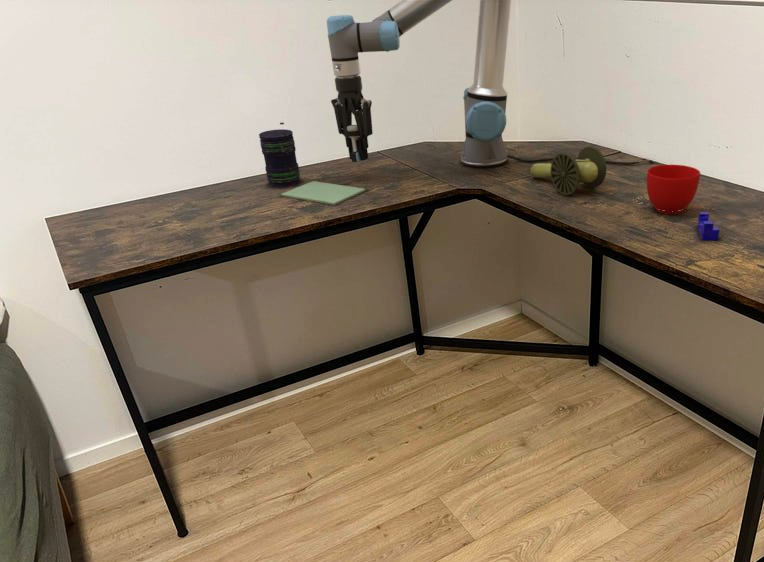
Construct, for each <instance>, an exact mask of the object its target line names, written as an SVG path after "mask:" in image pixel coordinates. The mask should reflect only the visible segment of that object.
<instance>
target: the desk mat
mask: <svg viewBox="0 0 764 562" xmlns="http://www.w3.org/2000/svg"><path fill="white" fill-rule="evenodd" d="M364 192H366V188H362V187H355V186H349V185H344V184H343V185H341V184H337V183H330V182H323V181H315V180H313V181H310V182H307V183H305V184H301V185H300V186H298V187H297V186H296V187H295V188H293V189H290V190H287V191H285V192H282V193H280V196H281V197H284V198H291V199H297V200H303V201H308V202H314V203H321V204H326V205H331V206H336V205H338V204H340V203H342V202H345V201H347V200H349V199H352V198H353V197H355V196H357V195H360V194H362V193H364Z"/></svg>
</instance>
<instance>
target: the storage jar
mask: <svg viewBox="0 0 764 562" xmlns="http://www.w3.org/2000/svg"><path fill="white" fill-rule="evenodd" d="M279 125H285V122H279ZM258 137H259V142H260V148H261V153H262V155H263V158H264V164H265V168H264V169H265V172H266V173H265V175H266V178H267V181H268V186H269V187H270V188H273V189H287V188H293V187H297V186H299V185H300V184H301V183H302V180H301V171H300V165H299V163H298V161H297V156H296V155H297V154H296V151H297V150H296V143H295V139H294V133H293V130H291V129H280V128H279V129H269V130H265V131H262V132H260V133H259V134H258Z"/></svg>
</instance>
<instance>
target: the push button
mask: <svg viewBox="0 0 764 562" xmlns="http://www.w3.org/2000/svg"><path fill="white" fill-rule="evenodd" d="M345 132H346V136H348V137H350V138H351V139H352V153H351V158H352V159H351V162H352V163H360V162H361V157H360V150H359V143H358V137H360V135H359V132H360V131H359V130H358V128H357V124H352V125H350V126H347V130H345Z"/></svg>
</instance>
